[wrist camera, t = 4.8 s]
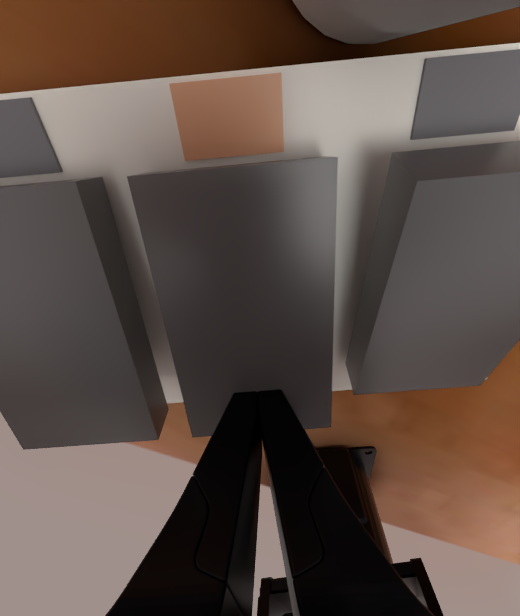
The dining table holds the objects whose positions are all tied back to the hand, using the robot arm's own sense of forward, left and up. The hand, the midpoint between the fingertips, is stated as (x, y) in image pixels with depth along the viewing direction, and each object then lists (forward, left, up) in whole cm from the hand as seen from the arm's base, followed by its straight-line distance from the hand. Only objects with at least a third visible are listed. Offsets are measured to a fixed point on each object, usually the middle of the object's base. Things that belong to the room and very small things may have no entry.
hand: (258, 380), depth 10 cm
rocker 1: (+3, +5, 0) cm, 6 cm away
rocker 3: (+3, -5, 0) cm, 6 cm away
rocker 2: (+3, 0, 0) cm, 2 cm away
